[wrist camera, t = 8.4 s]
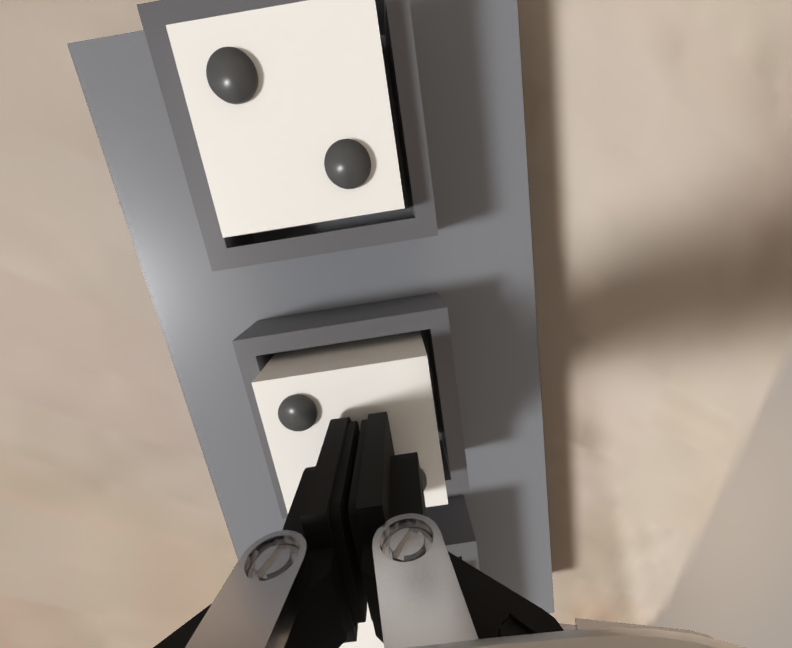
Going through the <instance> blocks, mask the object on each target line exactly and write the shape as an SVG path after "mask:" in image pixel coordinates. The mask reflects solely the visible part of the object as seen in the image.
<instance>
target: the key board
mask: <svg viewBox="0 0 792 648" xmlns="http://www.w3.org/2000/svg"><path fill="white" fill-rule="evenodd" d="M301 1H307V0H160V1H154V2H148V3H143V4H137V8H138V11H139V15H140V18H141V22H142V25H143V29H144V30H143V31H137V32H131V33H125V34H120V35H114V36H108V37H102V38H97V39H91V40H85V41H80V42H74V43H68V44H67V45H68V48H69V51H70V54H71V57H72V60H73V63H74V66H75V69H76V72H77V75H78V78H79V81H80V84H81V87H82V90H83V93H84V96H85V99H86V102H87V105H88V108H89V111H90V114H91V117H92V120H93V123H94V126H95V129H96V132H97V135H98V138H99V141H100V144H101V147H102V150H103V153H104V156H105V159H106V162H107V166H108V169H109V172H110V175H111V178H112V181H113V184H114V187H115V190H116V193H117V196H118V199H119V202H120V205H121V208H122V211H123V214H124V217H125V220H126V223H127V226H128V229H129V232H130V235H131V238H132V241H133V244H134V247H135V250H136V253H137V256H138V259H139V262H140V265H141V268H142V271H143V274H144V277H145V280H146V283H147V286H148V289H149V292H150V295H151V298H152V301H153V304H154V307H155V310H156V313H157V316H158V319H159V322H160V325H161V328H162V331H163V334H164V337H165V340H166V343H167V347H168V350H169V353H170V356H171V359H172V362H173V365H174V368H175V371H176V374H177V377H178V380H179V383H180V386H181V389H182V392H183V395H184V398H185V401H186V404H187V407H188V410H189V413H190V416H191V419H192V422H193V425H194V428H195V431H196V434H197V437H198V440H199V443H200V446H201V449H202V452H203V455H204V458H205V461H206V464H207V467H208V470H209V473H210V476H211V479H212V482H213V485H214V488H215V491H216V494H217V497H218V500H219V503H220V506H221V509H222V512H223V515H224V518H225V521H226V525H227V528H228V531H229V534H230V537H231V540H232V543H233V546H234V549H235V552H236V555H237V558H238V561H239V559H240V557H241V556H242V555H243V554H244V552H245V551H246V550H247V548H248V547H250V546H251V545H252V544H253V543H254V542H256V541H257V540H259V539H260V538H262V537H264V536H265V535H268V534H270V533H273V532H276V531H282V530H283V527H284V524H285V521H286V518H287V516H288V513H287V509H286V506H285V502H284V498H283V495H282V491H281V488H280V484H279V480H278V477H277V473H276V470H275V466H274V462H273V459H272V455H271V451H270V448H269V444H268V441H267V437H266V433H265V430H264V426H263V423H262V419H261V415H260V412H259V408H258V405H257V401H256V397H255V394H254V390H253V387H252V381H253V380H254V379H255V378H256V376H257V375H258V374H259V373H260V372H261V370H262V369H263V368H264V367H265V365H266V364H267V363H268V362H269V360H270V359H271V358H272V357H273V356H274V354H275V353H278V352H285V351H291V350H297V349H304V348H310V347H317V346H323V345H330V344H336V343H342V342H349V341H355V340H362V339H368V338H375V337H381V336H388V335H394V334H400V333H407V332H413V331H420V332H421V336H422V339H423V343H424V346H425V350H426V353H427V358H428V365H429V372H430V379H431V386H432V393H433V400H434V407H435V414H436V421H437V428H438V435H439V442H440V449H441V456H442V463H443V470H444V477H445V484H446V491H447V498H448V504H446V505H439V506H432V507H426V515H427V517H429V518H430V519H431V520H433V521H434V522H435V523H436V524H437V526H438V528H439V529H440V531H441V534H442V537H443V540H444V543H445V546H446V548H447V551H448V552H450V553H452V554H453V555H455V556H457V557H458V558H460V559H462V560H463V561H465V562H466V563H468V564H470V565H471V566H473V567H475V568H476V569H478V570H480V571H481V572H483V573H484V574H486V575H488V576H489V577H491V578H493V579H494V580H496V581H498V582H499V583H501V584H503V585H504V586H506V587H507V588H509V589H511V590H512V591H514V592H516V593H517V594H519V595H521V596H522V597H524V598H525V599H527V600H529V601H530V602H532V603H534V604H535V605H537V606H539V607H540V608H542V609H543V610H545V611H546V612H547V613H553V612H554V599H553V582H552V566H551V549H550V533H549V516H548V500H547V484H546V467H545V451H544V434H543V418H542V401H541V385H540V368H539V352H538V335H537V319H536V302H535V286H534V269H533V253H532V236H531V220H530V203H529V187H528V170H527V154H526V137H525V121H524V104H523V88H522V72H521V55H520V39H519V22H518V6H517V0H375V4H376V11H377V18H378V25H379V32H380V39H381V46H382V53H383V60H384V67H385V74H386V81H387V88H388V95H389V102H390V109H391V115H392V122H393V129H394V136H395V143H396V150H397V157H398V164H399V171H400V178H401V185H402V192H403V199H404V206H405V208H404V209H402V210H397V211H391V212H385V213H379V214H373V215H366V216H360V217H354V218H348V219H342V220H336V221H329V222H323V223H317V224H311V225H305V226H299V227H292V228H286V229H280V230H274V231H268V232H262V233H255V234H247V235H240V236H233V237H225V238H223V236H222V233H221V229H220V225H219V221H218V218H217V214H216V210H215V207H214V203H213V199H212V195H211V192H210V188H209V184H208V181H207V177H206V173H205V169H204V166H203V162H202V158H201V155H200V151H199V147H198V144H197V140H196V136H195V132H194V129H193V125H192V121H191V118H190V114H189V110H188V106H187V103H186V99H185V95H184V92H183V88H182V84H181V80H180V77H179V73H178V69H177V66H176V62H175V58H174V55H173V51H172V47H171V43H170V40H169V36H168V32H167V29H166V25H169V24H175V23H180V22H186V21H192V20H198V19H203V18H209V17H215V16H221V15H226V14H232V13H238V12H244V11H249V10H255V9H261V8H267V7H272V6H278V5H284V4H289V3H295V2H301Z"/></svg>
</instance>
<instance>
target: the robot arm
mask: <svg viewBox="0 0 792 648" xmlns="http://www.w3.org/2000/svg"><path fill="white" fill-rule="evenodd" d="M367 603H368V607H369V612H370V616H371V620H372V621H373V625H374V630H375V634H376V637H377V638H378V639H379V640H380V641H381V642H383V643H384V648H745V647H742V646H739V645H736V644H732V643H728V642H724V641H720V640H716V639H714V638H712V637H710V636H708V635H706V634H702V633H698V632H694V631H690V630H683V629H673V628H664V627H655V626H645V625H636V624H627V623H617V622H608V621H599V620H589V619H580V618H575V625H569V624H560V623H558V622H557V621H556V619H555V618H554V617H552V616H551V615H550V614H549V613H547V612H546V611H545V610H543V609H542V608H540V607H539V606H537V605H535V604H534V603H532V602H530V601H529V600H527V599H525V598H524V597H522V596H521V595H519V594H517V593H516V592H514V591H512V590H511V589H509V588H507V587H506V586H504V585H503V584H501V583H499V582H498V581H496V580H494V579H493V578H491V577H489V576H488V575H486V574H484V573H483V572H481V571H480V570H478V569H476V568H475V567H473V566H471V565H470V564H468V563H466V562H465V561H463V560H462V559H460V558H458V557H457V556H455V555H453V554H452V553H450V552H448V551H447V548H446V546H445V543H444V540H443V537H442V534H441V531H440V529H439V528H438V526H437V524H436V523H435V522H434V521H433V520H431V519H430V518H429V517H427V515H426V506H425V498H424V491H423V484H422V477H421V471H420V465H419V459H418V453H417V452H413V453H406V454H399V455H395V453H394V447H393V442H392V436H391V431H390V425H389V419H388V415H387V411H386V412H379V413H372V414H368V419H365V420H362V421H361V428H360V431H359V426H358V422H357V421H351V419H350V417H345V418H338V419H331V420H330V423H329V426H328V429H327V432H326V435H325V438H324V441H323V445H322V448H321V451H320V454H319V457H318V460H317V463H316V466H314V467H307V468H305V470H304V471H303V474H302V477H301V480H300V482H299V485H298V488H297V491H296V493H295V496H294V499H293V502H292V505H291V507H290V510H289V513H288V516H287V518H286V521H285V524H284V527H283V530H282V531H276V532H273V533H270V534H268V535H265V536H264V537H262V538H260V539H259V540H257V541H256V542H254V543H253V544H252V545H251V546H250V547H248V548H247V550H246V551H245V552H244V554H243V555H242V556H241V557H240V559H239V561H238V562H237V564H236V566H235V567H234V569H233V570H232V572H231V574H230V575H229V577H228V579H227V580H226V582H225V583H224V585H223V587H222V588H221V590H220V592H219V593H218V595H217V596H216V598H215V600H214V601H213V603H212V604H211V605H209V606H208V607H207V608H205V609H204V610H203V611H201V612H200V613H199V614H197V615H196V616H195V617H193V618H192V619H191V620H189V621H188V622H187V623H185V624H184V625H183V626H181V627H180V628H179V629H177V630H176V631H175V632H173V633H172V634H171V635H169V636H168V637H167V638H165V639H164V640H163V641H161V642H160V643H159V644H158V645H156V646H155V647H154V648H339V647H340V646H341V645H342V644H343V643H347V642H355V641H357V632H358V623H363V622H366V616H367Z"/></svg>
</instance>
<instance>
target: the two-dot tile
mask: <svg viewBox="0 0 792 648" xmlns="http://www.w3.org/2000/svg"><path fill="white" fill-rule="evenodd" d="M166 29H167V32H168V36H169V40H170V43H171V47H172V51H173V55H174V58H175V62H176V66H177V69H178V73H179V77H180V80H181V84H182V88H183V92H184V95H185V99H186V103H187V106H188V110H189V114H190V118H191V121H192V125H193V129H194V132H195V136H196V140H197V144H198V147H199V151H200V155H201V158H202V162H203V166H204V169H205V173H206V177H207V181H208V184H209V188H210V192H211V195H212V199H213V203H214V207H215V210H216V214H217V218H218V221H219V225H220V229H221V233H222V236H223V238H225V237H233V236H240V235H247V234H255V233H262V232H268V231H274V230H280V229H286V228H292V227H299V226H305V225H311V224H317V223H323V222H329V221H336V220H342V219H348V218H354V217H360V216H366V215H373V214H379V213H385V212H391V211H397V210H402V209H404V208H405V206H404V199H403V192H402V185H401V178H400V171H399V164H398V157H397V150H396V143H395V136H394V129H393V122H392V115H391V109H390V102H389V95H388V88H387V81H386V74H385V67H384V60H383V53H382V46H381V39H380V32H379V25H378V18H377V11H376V4H375V0H307V1H301V2H295V3H289V4H284V5H278V6H272V7H267V8H261V9H255V10H249V11H244V12H238V13H232V14H226V15H221V16H215V17H209V18H203V19H198V20H192V21H186V22H180V23H175V24H169V25H166Z"/></svg>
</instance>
